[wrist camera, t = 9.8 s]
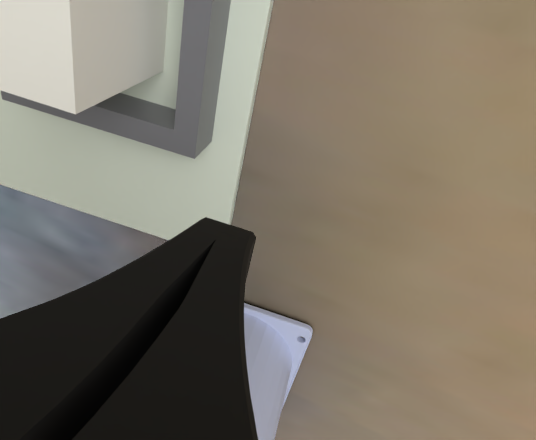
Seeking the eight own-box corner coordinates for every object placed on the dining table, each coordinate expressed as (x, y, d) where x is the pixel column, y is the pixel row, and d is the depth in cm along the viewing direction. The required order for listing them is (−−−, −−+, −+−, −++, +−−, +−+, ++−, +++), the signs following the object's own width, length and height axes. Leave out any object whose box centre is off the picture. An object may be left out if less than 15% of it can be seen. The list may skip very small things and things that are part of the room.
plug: (163, 70, 18) (75, 114, 13) (78, 45, 18) (-40, 77, 13) (172, -56, 15) (65, -63, 10) (72, -84, 15) (-78, -103, 10)
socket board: (225, 252, 23) (209, 281, 21) (0, 178, 24) (-37, 198, 22) (294, -111, 14) (277, -123, 12) (-74, -200, 15) (-148, -225, 13)
